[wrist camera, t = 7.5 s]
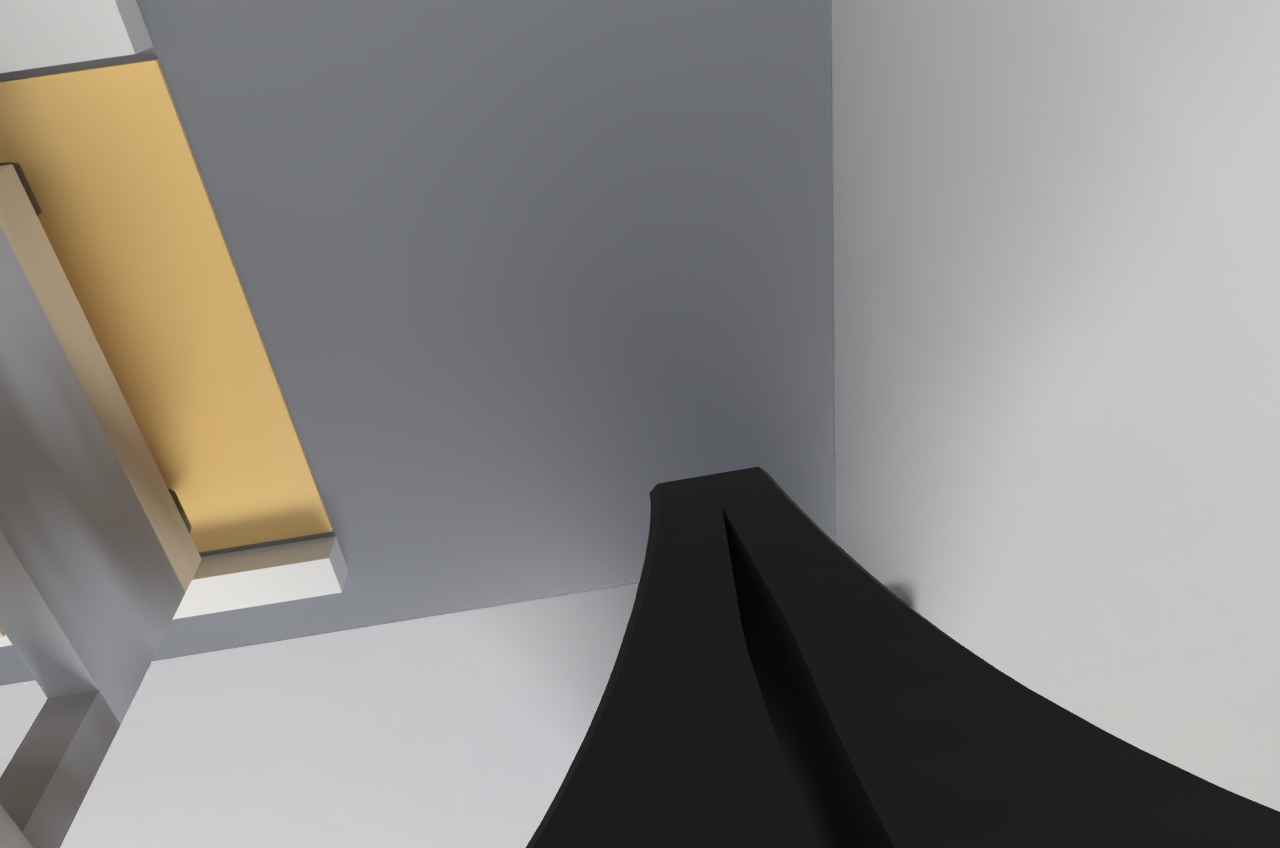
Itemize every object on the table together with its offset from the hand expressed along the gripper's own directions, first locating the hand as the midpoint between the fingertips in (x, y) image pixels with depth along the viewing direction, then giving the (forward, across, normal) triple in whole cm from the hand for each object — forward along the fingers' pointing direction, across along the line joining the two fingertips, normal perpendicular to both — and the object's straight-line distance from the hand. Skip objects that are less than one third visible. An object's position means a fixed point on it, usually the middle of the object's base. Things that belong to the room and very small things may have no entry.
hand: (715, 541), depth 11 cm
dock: (+10, +7, 0) cm, 13 cm away
